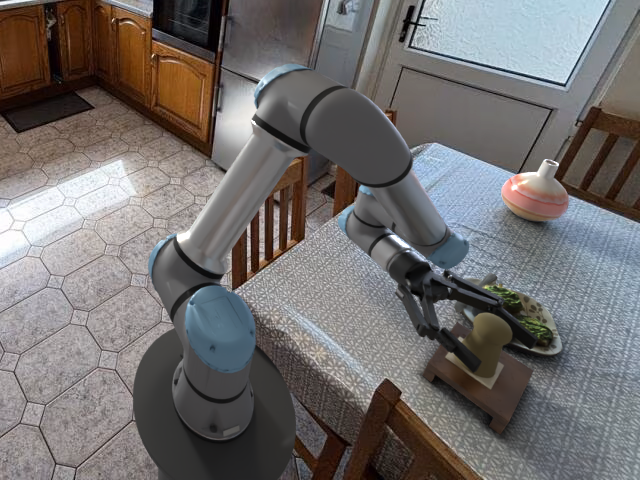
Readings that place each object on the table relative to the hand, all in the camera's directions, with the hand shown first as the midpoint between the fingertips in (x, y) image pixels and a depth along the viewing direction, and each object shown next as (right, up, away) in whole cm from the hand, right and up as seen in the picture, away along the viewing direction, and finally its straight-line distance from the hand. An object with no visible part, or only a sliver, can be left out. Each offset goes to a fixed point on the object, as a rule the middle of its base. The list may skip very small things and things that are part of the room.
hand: (507, 355), depth 71 cm
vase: (+49, +11, +47) cm, 69 cm away
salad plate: (+16, -3, +18) cm, 24 cm away
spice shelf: (0, -9, +7) cm, 11 cm away
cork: (-1, -5, +6) cm, 8 cm away
